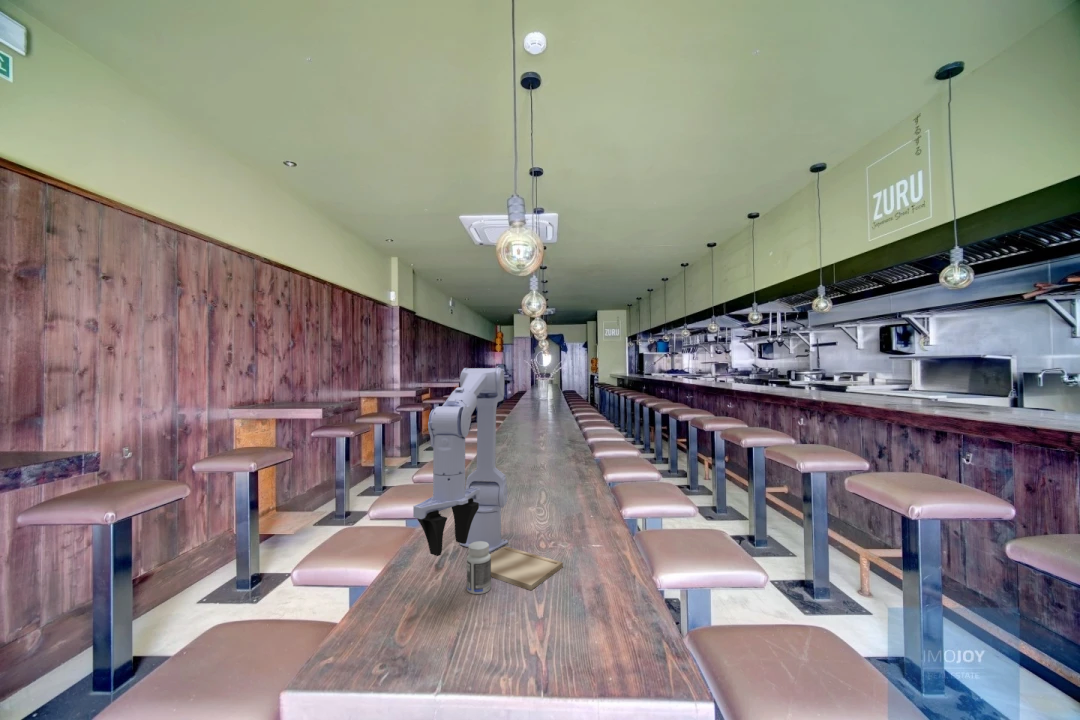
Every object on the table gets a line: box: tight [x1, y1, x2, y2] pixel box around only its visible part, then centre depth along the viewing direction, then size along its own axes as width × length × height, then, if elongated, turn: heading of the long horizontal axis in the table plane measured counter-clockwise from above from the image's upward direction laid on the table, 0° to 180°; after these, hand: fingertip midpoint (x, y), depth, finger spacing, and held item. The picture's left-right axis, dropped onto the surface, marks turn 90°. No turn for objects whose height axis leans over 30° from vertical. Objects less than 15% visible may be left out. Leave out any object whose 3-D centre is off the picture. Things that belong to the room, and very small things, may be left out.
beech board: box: [489, 546, 564, 591], centre depth 89 cm, size 16×12×1 cm
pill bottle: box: [466, 541, 492, 595], centre depth 81 cm, size 5×5×8 cm
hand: (448, 548), depth 74 cm, fingers open, 6 cm apart
